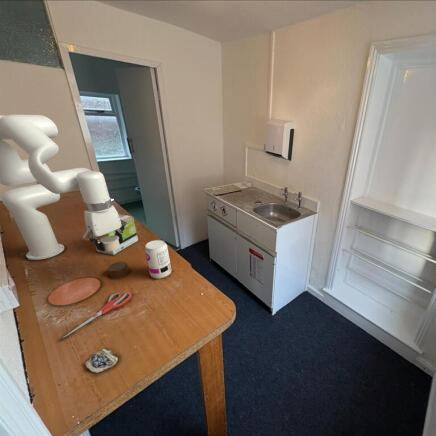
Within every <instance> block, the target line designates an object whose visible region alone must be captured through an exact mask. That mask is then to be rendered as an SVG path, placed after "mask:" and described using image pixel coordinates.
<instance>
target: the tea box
mask: <svg viewBox="0 0 436 436" xmlns="http://www.w3.org/2000/svg"><path fill="white" fill-rule="evenodd" d="M118 215H119V218H120V219H121V220H123V221H126V222H127V224H126V226H125V228H124V230H123V233H122V237H123V243H119V244H120V247H119V248H118V249H116V250H114V251H104V252H103V251H100V250H98V249H97V247H96V244H95V242H93V243H94V245H95V249H96V252H98V253H101V254H107V255H113V256H115V255H116V254H118V253H119V252H121V251H123V250H125V249H126V248H128V247H129V246H131V245H133V244H135V243H137V242H139V237H138V233H137V228H136V223H135V219H134V216H132V215H126V214H122V213H121V214H120V213H118ZM115 233H116V232H115V231H112V232H110V233H107V234H105V235H102V237H101V238H103V237H106V236H111V235H115ZM91 235H92V237H93V235H94V234H91Z"/></svg>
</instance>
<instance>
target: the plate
mask: <svg viewBox="0 0 436 436" xmlns="http://www.w3.org/2000/svg"><path fill="white" fill-rule="evenodd" d="M100 286H101V281H100V280H99V279H97V278H95V277H81V278H77V279H73V280H71V281H68V282H65V283H63V284H61V285H60V286H58V287H56V288H55V289H54V290H52V292H51V293H50V294H49V296H48V298H47V299H48V303H49V304H51V305H54V306H67V305H72V304H75V303H78V302H80V301H82V300H83V301H84V300H86V299H87V298H89V297H90V296H92V295H94V293H96V292H97V291H98V289H99V288H100Z"/></svg>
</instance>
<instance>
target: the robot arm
mask: <svg viewBox="0 0 436 436" xmlns="http://www.w3.org/2000/svg"><path fill="white" fill-rule="evenodd" d="M58 134H59V129H58V127H57V125H56V123H55V122H54V121H53V120H52V119H51V118H49V117H48V116H46V115H43V114H5V115H4V114H0V184H1V185H4V186H6V187H13V186H14V187H15V186H20V185H25V186H21V187H17V188H12V189H9V190H7V191H4V192H3V193H2V194H1V196H0V201H1V203H2V204H3V205H4V207H5V209H7V211H8V212H9V214H10V215H11V216H12V218H13V220H14V222H15V225H16V226H17V228H18V230H19V232H20V234H21V237H22V238H23V240H24V243H25V245H26V247H27V250H28V252H27V253H26V254H25V256H26V258H27V260H31V261H40V260H41V261H42V260H46V259H49V258H53V257H55V256H57V255H59V254H61V253H62V252H63V251H65V246H64V244H62V243H58V240H57V238H56V235H55V233H54V231H53V227H52V225H51V223H50V221H49V218H48V216H47V215H46V214H45V213H44V212H42V211H40V210H37V209H38V208H41V207H44V206H49V205H52V204H56V203H57V202H59V201H60V199H61V195H63V194H68V193H72V192H76V191H80V194H81V196H82V200H83V203H84V207H85V209H86V210H84V212H83V215H84V223H85V224H84V225H85V227H86V231H85V232H84V234H83V235H82V237H81V238H82V239H83V240H86V241H89V242H92V243H94V242H95V243H94V245H95V244H96V246H95V248H96V247H97V249H98V250H100V251H103V252H104V251H105V248H104V245H103V242H101V237H102V235H105V234H107V233H110V232H112V231H115V232H116V233H115V235H116V236H118V237H119V239H118V240H119V243H123V237H122V233H123V230H124V228H125V226H126V224H127V222H126V221H123V220H121V219H120V218H119V215H118V214H119V213H118V211H117V209H116V207H115V206H114V205H113V202H115V199H114V198H113V197H110V194H109V189H108V186H107V183H106V179H105V176H104V174H103V173H102V172H100V171H97V170H96V171H95V170H92V169H89V168H87V167H75V168H69V169H64V170H58V171H53V172H52V171H51V169H50V167H49V166H48V164H46V163H48V162H49V161H51V160H52V159H54V158H55V157H56V156H57V155H58V153H59V150H60V148H59V145H58V144H57V143H55V141H53V139H54V138H56V137H57V136H58ZM6 140H7V141H8V140H11V141H13V142H14V143H15V144H16V145H17V146H18V147H20V149H22V151H24V153H26V154H27V155H28V156H29V157H28V158H26V159H25V158H24V159H21V157H20V155H19V153H18V151H17V149H16V148H15V146H13V145H12V144H10V143H9V142H7V141H6ZM31 183H36V184H32V185H26V184H31ZM92 234H94V235H93V236H92V237H91V235H92ZM97 249H96V250H97Z"/></svg>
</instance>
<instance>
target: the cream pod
mask: <svg viewBox="0 0 436 436" xmlns="http://www.w3.org/2000/svg"><path fill="white" fill-rule="evenodd" d="M118 239H119V237H118V236H116V235H111V236H106V237H103V238H101V242H103V245H104V248H105V251H114V250H116V249H118V248H119V247H120V244H119V240H118Z"/></svg>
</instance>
